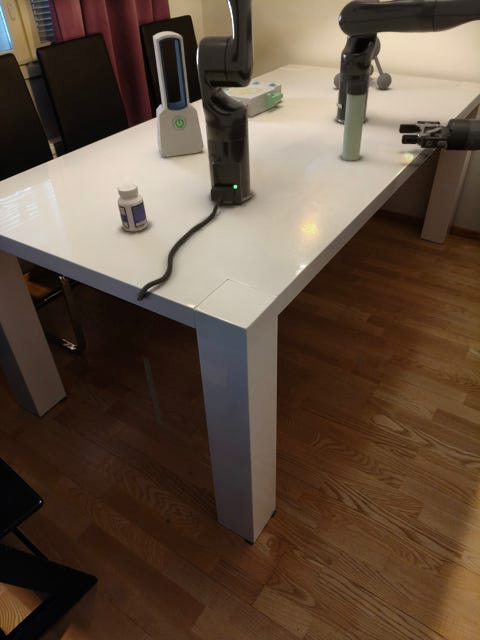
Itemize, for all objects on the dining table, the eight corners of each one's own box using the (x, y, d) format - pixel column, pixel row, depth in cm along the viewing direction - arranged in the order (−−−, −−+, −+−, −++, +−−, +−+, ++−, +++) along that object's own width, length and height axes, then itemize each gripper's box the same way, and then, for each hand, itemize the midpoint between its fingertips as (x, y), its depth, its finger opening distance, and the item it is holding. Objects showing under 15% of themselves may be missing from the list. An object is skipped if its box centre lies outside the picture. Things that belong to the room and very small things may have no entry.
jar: (353, 161, 129) (360, 87, 118) (338, 158, 132) (344, 84, 121) (362, 156, 132) (370, 83, 121) (348, 153, 135) (354, 81, 123)
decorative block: (245, 78, 184) (291, 83, 175) (246, 96, 188) (291, 102, 178) (203, 94, 168) (250, 100, 159) (204, 113, 172) (251, 121, 162)
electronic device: (161, 157, 138) (144, 37, 120) (158, 149, 144) (140, 33, 126) (204, 151, 141) (193, 32, 122) (199, 144, 146) (188, 28, 128)
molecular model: (320, 82, 200) (324, -5, 182) (368, 76, 205) (377, -10, 186) (347, 95, 182) (354, 0, 164) (399, 88, 187) (412, -5, 168)
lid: (359, 95, 119) (360, 85, 118) (342, 93, 122) (342, 82, 120) (371, 91, 122) (372, 81, 120) (353, 88, 125) (354, 78, 123)
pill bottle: (149, 220, 107) (142, 181, 102) (146, 231, 103) (138, 191, 98) (125, 221, 107) (116, 182, 102) (121, 232, 103) (112, 193, 98)
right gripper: (465, 111, 127) (400, 110, 129) (476, 128, 116) (405, 127, 118) (458, 140, 131) (396, 139, 134) (468, 159, 120) (400, 157, 123)
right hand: (400, 133), depth 126 cm, fingers open, 8 cm apart
